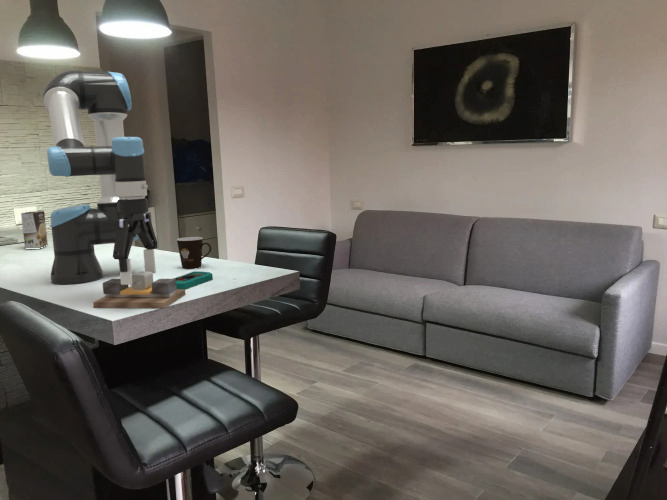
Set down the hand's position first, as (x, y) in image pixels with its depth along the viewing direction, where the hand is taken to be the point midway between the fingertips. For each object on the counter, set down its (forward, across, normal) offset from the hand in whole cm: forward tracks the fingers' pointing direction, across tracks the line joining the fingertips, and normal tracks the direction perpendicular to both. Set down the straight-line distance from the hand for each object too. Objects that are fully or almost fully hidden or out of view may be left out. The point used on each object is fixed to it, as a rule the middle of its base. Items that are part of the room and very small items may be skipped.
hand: (139, 278), depth 146 cm
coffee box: (+7, +88, +91) cm, 127 cm away
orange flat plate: (+4, 0, 0) cm, 4 cm away
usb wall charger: (+3, 0, 0) cm, 3 cm away
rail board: (+6, 0, 0) cm, 6 cm away
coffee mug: (+6, +44, +2) cm, 45 cm away
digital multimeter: (+7, +20, -6) cm, 22 cm away
